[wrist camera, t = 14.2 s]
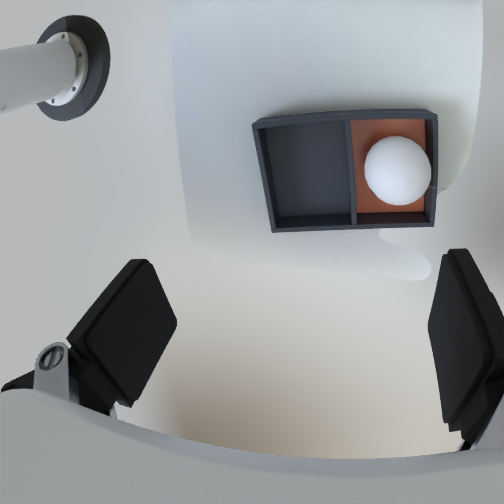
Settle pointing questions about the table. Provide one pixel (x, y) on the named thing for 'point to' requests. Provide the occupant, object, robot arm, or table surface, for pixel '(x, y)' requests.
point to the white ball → (397, 170)
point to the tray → (339, 169)
